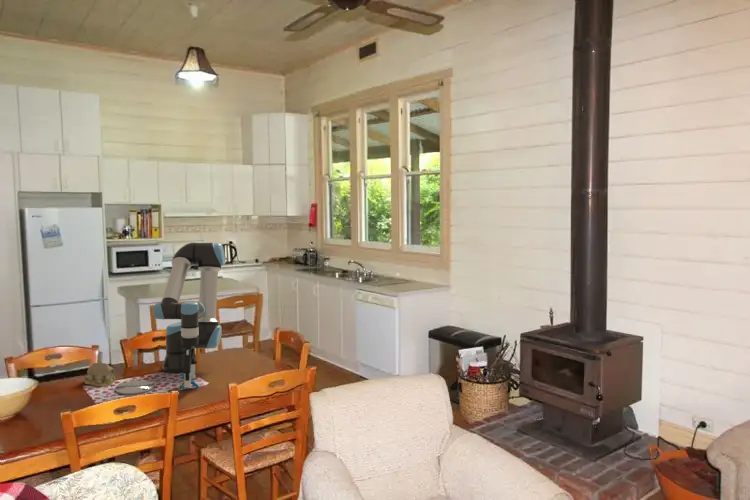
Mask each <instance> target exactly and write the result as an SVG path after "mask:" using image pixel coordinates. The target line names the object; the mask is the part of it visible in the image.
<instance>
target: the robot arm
mask: <svg viewBox="0 0 750 500" xmlns="http://www.w3.org/2000/svg"><path fill="white" fill-rule="evenodd" d="M225 255H226V254H225V249H224V246H223V245H222V244H221V243H218V242H190V243H187V244H184V245H182V246H181V247H180V248H179V249H177V251H176V253H175V254H174V255H173V256H172V260H171V266H172V267H171V270H170V272H169V273H170V274H169V276H168V280H167V283H166V287H165V290H164V292H163V296H162V298H161V302H157V303H155V304H154V306H153V317H154V318H155V319H157V320H163V321H164V320H180V322H176V323H175V322H174V323H171V324H169V325H168V326H166V329H165V330H166V331H165V349H166V351H165V357H164V360H163V364H162V371H163V372H165V373H176V374H177V373H183V374H184V378H183V379H184V380H183V381H184V385H183V386H184V388H185V389H186V388H192V384H191V379H192V380H193V379H196V365H197V362H198V361H196V349H207V350H208V349H216V348H218V346H219V344H220V342H221V338H222V333H223V331H222V330H223V328H222V325H220V324H219V320H218V319H217V300H218V298H217V297H218V283H219V282H218V279H219V278H218V277H219V272H220V271H221V270H222V267H223V266H225V264H226V256H225ZM192 266H197V269H198V270H199V271H200V281H199V283H200V284H199V298H198V300H199V301H185V302H181V303H180V299H181V296H182V291H183V288H184V285H185V281H186V279H187V275H188V272H189V270H190V269H191V268H192Z"/></svg>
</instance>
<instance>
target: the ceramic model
mask: <svg viewBox="0 0 750 500" xmlns="http://www.w3.org/2000/svg"><path fill="white" fill-rule="evenodd" d="M86 373H87V376H85V377H84V378H83V379H84V380H83V383H84V384H85V385H91V386H95V387H107V386H111V385H113V383H116V376H114V373H115V370H114V368H113V367H112V366H110V365H109V364H108V363H104V362H102V361H98V362H93V363H92V364H91V365H89V366H88V368H87V371H86Z"/></svg>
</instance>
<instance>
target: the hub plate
mask: <svg viewBox="0 0 750 500" xmlns="http://www.w3.org/2000/svg"><path fill="white" fill-rule="evenodd" d="M154 388H155V383H154V382H153V381H150V380H132V381H125V382H122V383H120V384H118V385H116V386H115V393H116V394H119V395H124V396H126V395H127V396H128V395H131V394H133V395H139V394H138V393H141V394H144V393H148V392H150V390H151V391H153V389H154ZM147 391H148V392H147Z"/></svg>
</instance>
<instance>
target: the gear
mask: <svg viewBox="0 0 750 500" xmlns="http://www.w3.org/2000/svg"><path fill="white" fill-rule="evenodd" d="M179 375H180V377H182V379H183V381H182V383H181V385H180V386H179V387H180V388H181V390H182V391H184V390H185V389H186V388H184V373H182V372H180V374H179ZM191 385H193V386H194V387H196V388H199V387H200V385H199V384H198V383H196V382H195V381H194V380H193V379H191Z"/></svg>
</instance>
